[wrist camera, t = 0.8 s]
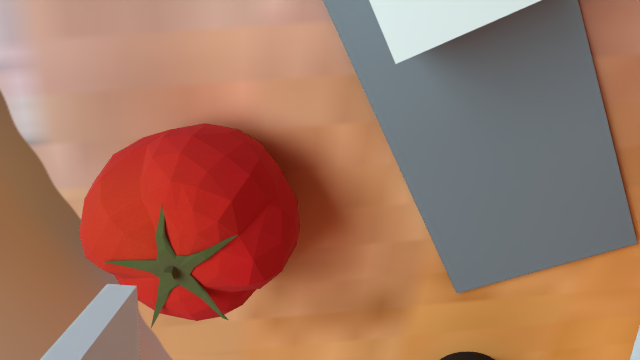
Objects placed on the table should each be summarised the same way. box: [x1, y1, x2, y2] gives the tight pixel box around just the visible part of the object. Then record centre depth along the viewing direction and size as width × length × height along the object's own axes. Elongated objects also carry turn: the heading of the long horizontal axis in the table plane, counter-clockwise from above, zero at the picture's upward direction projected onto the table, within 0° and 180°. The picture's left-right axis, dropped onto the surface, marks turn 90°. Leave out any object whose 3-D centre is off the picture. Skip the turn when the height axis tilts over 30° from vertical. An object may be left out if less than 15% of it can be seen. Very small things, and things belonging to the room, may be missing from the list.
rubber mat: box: [323, 0, 638, 293], centre depth 31 cm, size 13×28×1 cm, turn 26°
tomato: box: [79, 124, 300, 328], centre depth 31 cm, size 12×13×12 cm
